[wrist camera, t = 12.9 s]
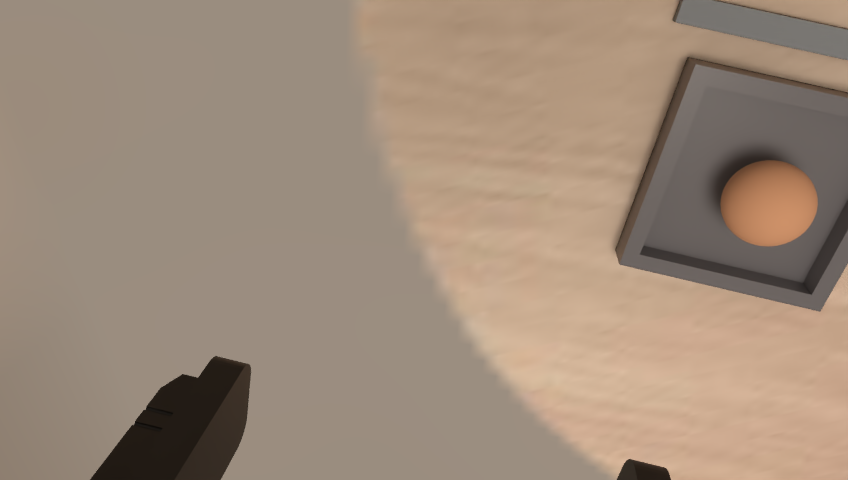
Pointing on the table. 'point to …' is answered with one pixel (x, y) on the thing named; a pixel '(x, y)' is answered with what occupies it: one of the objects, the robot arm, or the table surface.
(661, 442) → the table surface
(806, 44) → the distance line
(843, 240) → the tray
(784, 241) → the ball
